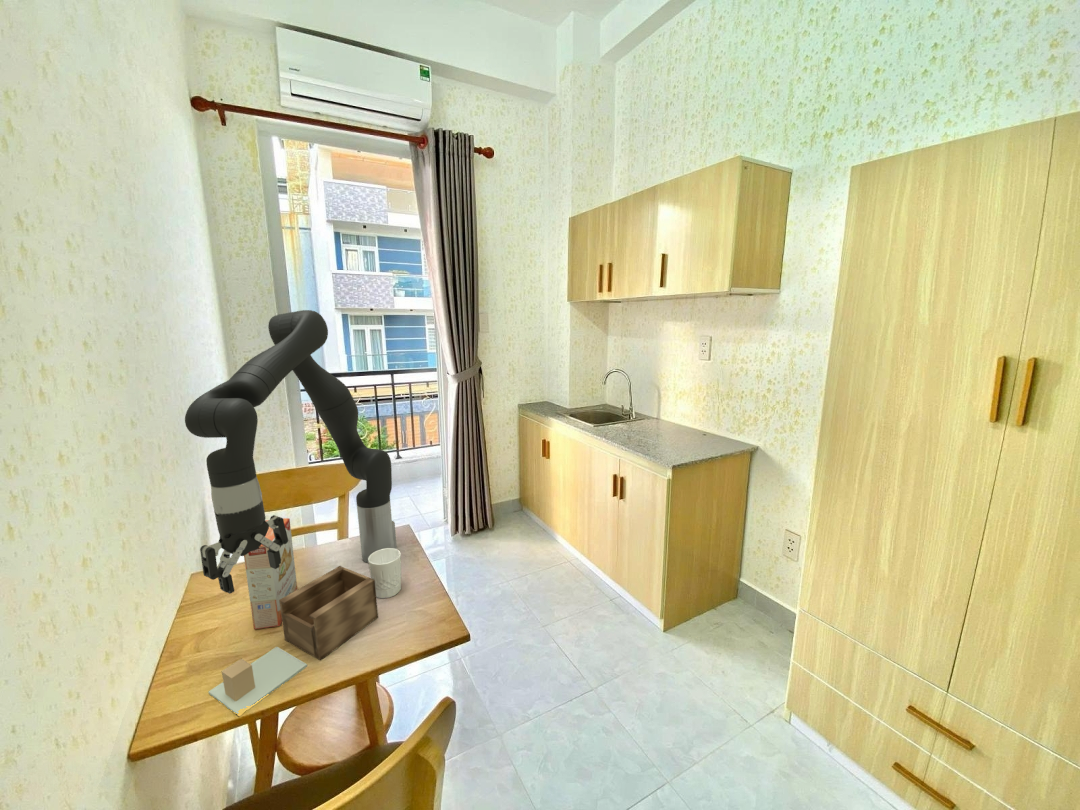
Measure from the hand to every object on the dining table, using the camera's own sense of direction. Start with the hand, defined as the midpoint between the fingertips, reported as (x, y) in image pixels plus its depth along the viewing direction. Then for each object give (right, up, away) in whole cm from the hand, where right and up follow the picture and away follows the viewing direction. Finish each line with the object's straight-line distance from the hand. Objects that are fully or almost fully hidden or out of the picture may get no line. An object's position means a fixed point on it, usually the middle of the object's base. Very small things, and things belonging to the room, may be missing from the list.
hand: (253, 579), depth 84 cm
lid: (+1, -21, +1) cm, 21 cm away
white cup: (+16, -15, +29) cm, 36 cm away
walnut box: (+9, -17, +15) cm, 24 cm away
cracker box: (-8, -16, +22) cm, 28 cm away
